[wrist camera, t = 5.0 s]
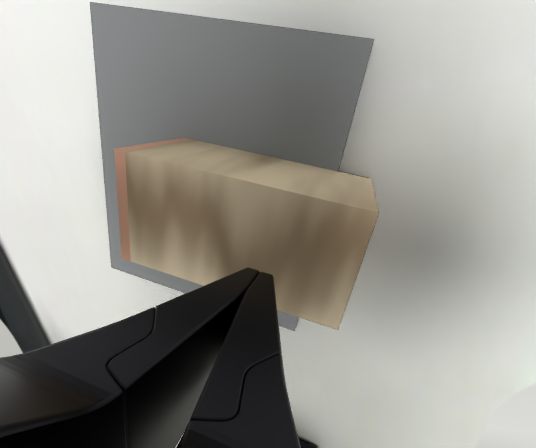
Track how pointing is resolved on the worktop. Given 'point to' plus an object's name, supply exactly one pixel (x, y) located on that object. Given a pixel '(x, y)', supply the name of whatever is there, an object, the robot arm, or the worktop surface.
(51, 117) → the worktop surface
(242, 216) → the pine block
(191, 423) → the robot arm
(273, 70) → the mat
